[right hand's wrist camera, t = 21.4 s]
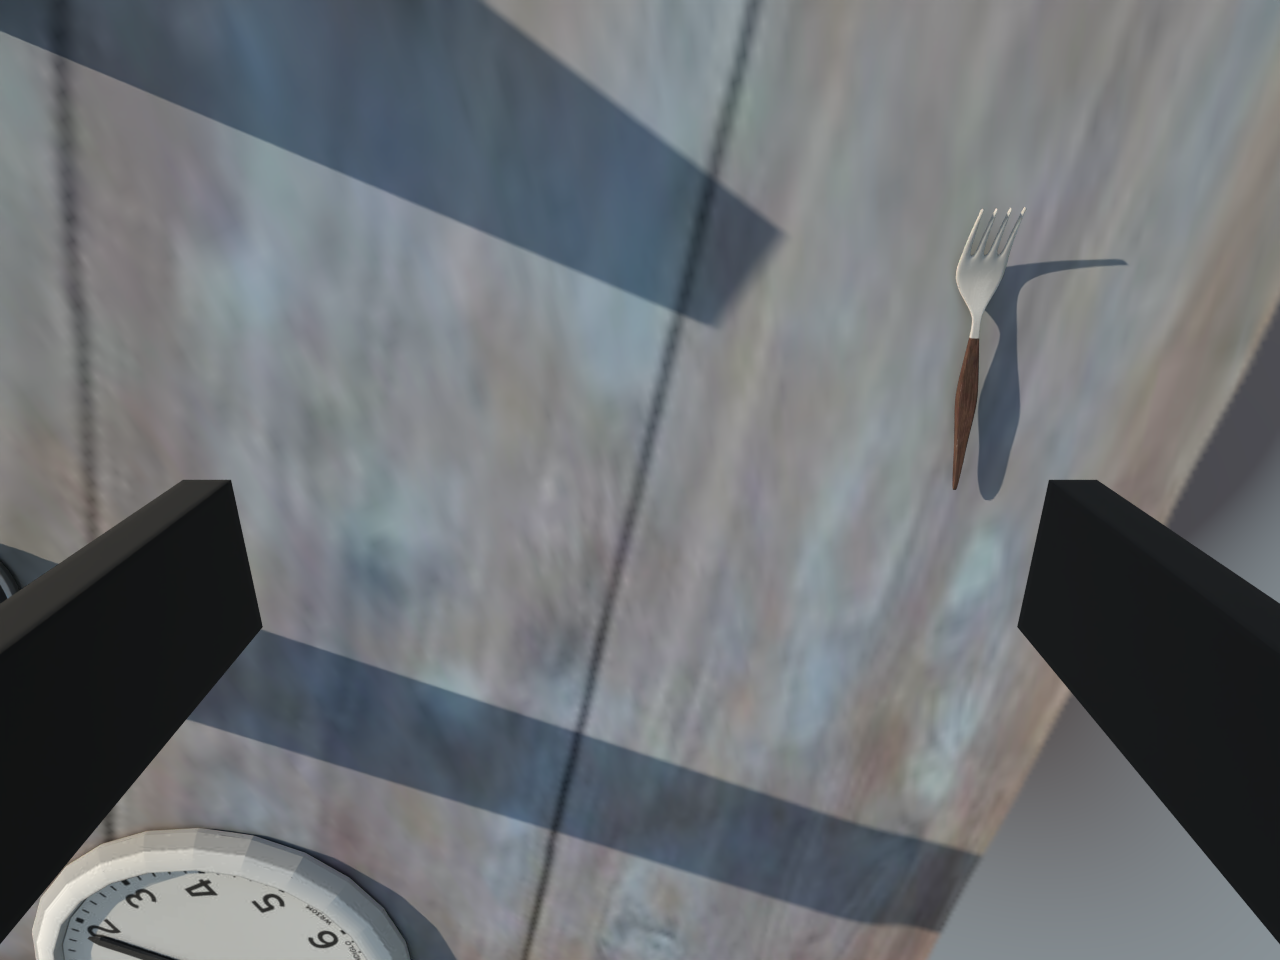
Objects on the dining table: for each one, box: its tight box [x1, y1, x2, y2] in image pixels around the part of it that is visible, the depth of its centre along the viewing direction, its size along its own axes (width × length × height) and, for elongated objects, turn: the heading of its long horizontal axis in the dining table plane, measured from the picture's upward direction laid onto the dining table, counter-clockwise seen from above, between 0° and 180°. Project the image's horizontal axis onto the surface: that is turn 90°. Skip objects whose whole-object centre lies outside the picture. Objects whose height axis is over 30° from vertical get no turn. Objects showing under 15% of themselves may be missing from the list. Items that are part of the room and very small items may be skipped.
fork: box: [953, 207, 1026, 490], centre depth 42 cm, size 3×16×2 cm, turn 2°
